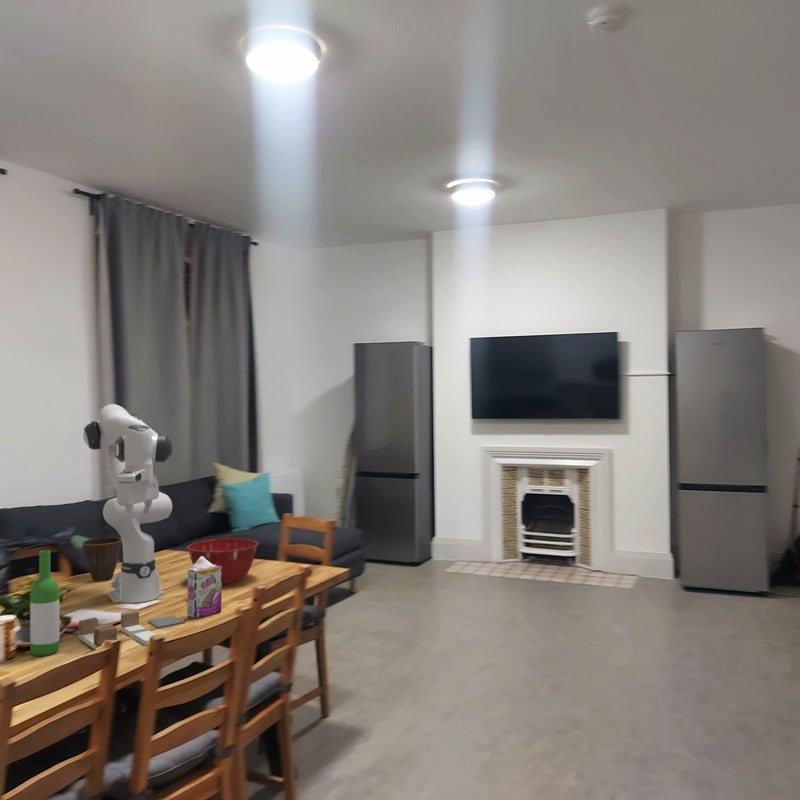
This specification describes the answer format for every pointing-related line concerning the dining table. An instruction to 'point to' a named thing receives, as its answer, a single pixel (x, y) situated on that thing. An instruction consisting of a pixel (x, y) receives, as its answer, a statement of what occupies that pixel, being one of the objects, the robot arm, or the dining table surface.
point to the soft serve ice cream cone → (201, 563)
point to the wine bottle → (44, 610)
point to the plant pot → (101, 557)
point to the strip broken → (134, 627)
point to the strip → (88, 631)
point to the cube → (104, 634)
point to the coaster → (166, 621)
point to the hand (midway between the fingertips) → (139, 516)
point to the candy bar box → (204, 591)
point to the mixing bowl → (226, 556)
